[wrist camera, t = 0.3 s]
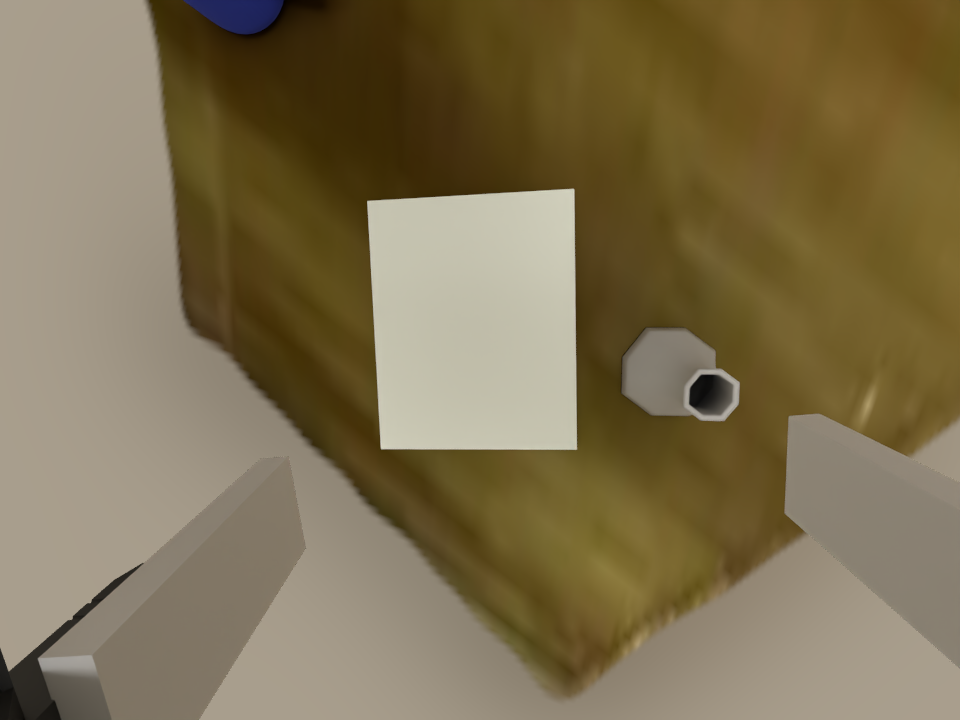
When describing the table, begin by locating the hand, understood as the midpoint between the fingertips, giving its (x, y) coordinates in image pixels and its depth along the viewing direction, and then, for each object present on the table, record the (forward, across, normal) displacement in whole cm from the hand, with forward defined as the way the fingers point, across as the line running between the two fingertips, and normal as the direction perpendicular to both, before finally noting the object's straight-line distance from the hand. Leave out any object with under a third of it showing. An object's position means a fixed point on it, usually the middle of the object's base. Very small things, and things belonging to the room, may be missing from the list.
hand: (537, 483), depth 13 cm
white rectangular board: (+27, -2, 0) cm, 27 cm away
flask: (+26, +12, -4) cm, 29 cm away
